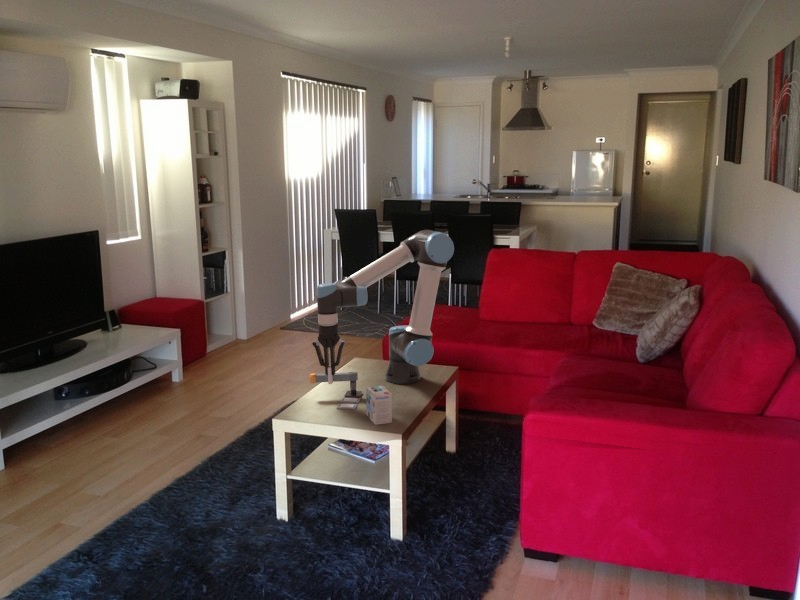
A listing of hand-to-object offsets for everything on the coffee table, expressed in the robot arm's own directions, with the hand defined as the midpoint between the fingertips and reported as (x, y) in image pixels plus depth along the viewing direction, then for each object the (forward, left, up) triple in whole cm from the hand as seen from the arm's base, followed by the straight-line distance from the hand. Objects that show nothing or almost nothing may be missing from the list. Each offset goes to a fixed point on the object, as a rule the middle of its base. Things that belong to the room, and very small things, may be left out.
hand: (330, 382), depth 274 cm
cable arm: (-1, -3, 0) cm, 3 cm away
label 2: (-8, +8, -7) cm, 13 cm away
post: (-8, -5, -7) cm, 12 cm away
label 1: (-8, +1, -7) cm, 10 cm away
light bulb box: (-22, +19, -7) cm, 30 cm away
